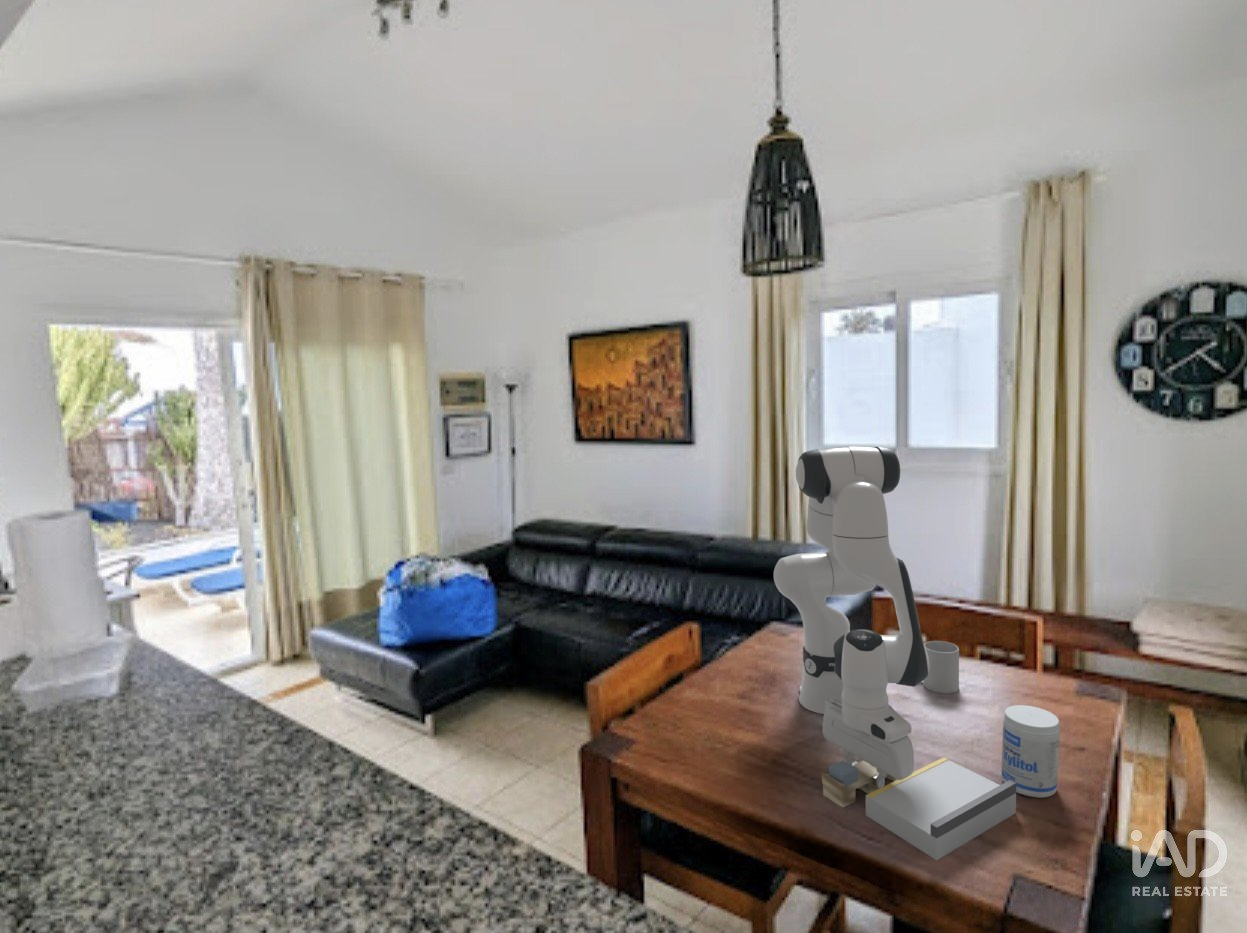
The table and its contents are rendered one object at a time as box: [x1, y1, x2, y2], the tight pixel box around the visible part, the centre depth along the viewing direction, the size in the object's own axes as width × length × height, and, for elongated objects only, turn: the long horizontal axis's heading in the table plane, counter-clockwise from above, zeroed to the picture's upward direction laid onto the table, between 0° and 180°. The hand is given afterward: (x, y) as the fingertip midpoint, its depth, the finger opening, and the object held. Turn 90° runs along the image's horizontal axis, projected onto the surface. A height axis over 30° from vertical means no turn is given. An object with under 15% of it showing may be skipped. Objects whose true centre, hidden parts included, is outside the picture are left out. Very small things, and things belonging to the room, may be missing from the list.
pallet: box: [821, 760, 898, 808], centre depth 139 cm, size 19×5×4 cm, turn 120°
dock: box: [865, 757, 1017, 861], centre depth 129 cm, size 23×15×6 cm, turn 120°
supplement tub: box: [1000, 704, 1061, 799], centre depth 136 cm, size 10×10×15 cm
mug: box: [922, 640, 960, 695], centre depth 182 cm, size 12×8×11 cm
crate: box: [828, 760, 858, 787], centre depth 136 cm, size 4×4×2 cm
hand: (865, 778), depth 139 cm, fingers closed on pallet, 5 cm apart
